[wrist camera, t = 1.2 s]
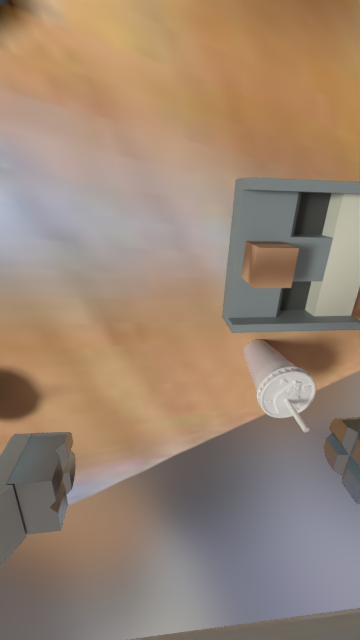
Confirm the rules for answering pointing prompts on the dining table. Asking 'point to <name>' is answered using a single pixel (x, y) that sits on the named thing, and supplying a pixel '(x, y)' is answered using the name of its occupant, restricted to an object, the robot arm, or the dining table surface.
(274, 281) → the terracotta block
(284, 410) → the smoothie
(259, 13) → the dining table surface
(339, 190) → the board
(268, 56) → the dining table surface
